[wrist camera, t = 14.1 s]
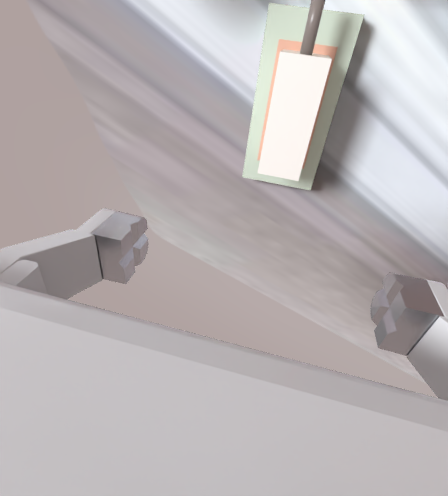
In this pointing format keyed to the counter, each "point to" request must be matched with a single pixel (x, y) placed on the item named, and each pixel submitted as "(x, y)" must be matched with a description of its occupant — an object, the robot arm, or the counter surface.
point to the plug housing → (294, 103)
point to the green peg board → (340, 50)
